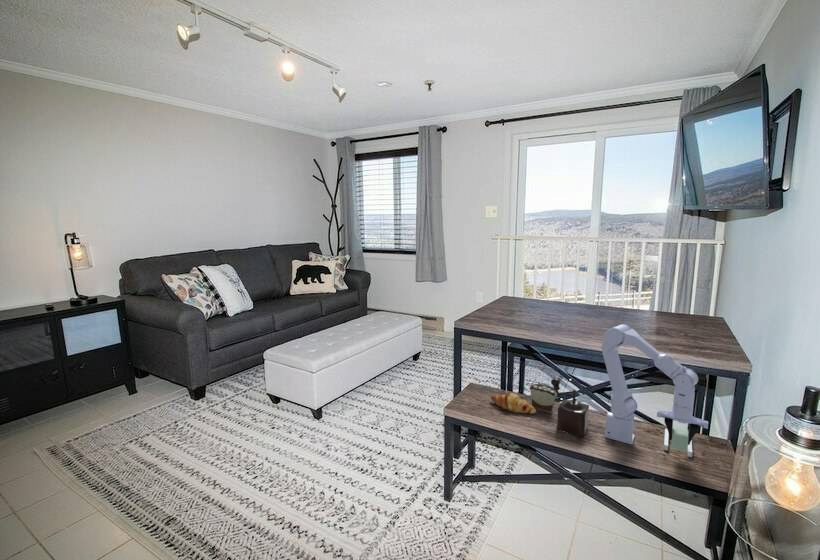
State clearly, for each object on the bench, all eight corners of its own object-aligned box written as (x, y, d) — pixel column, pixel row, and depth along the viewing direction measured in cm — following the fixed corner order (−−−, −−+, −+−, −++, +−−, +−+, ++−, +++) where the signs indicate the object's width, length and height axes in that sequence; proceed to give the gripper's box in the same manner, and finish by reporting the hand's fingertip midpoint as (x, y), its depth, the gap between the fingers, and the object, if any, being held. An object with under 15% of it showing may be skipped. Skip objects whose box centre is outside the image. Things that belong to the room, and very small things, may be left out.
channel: (663, 449, 142) (664, 444, 142) (664, 433, 154) (665, 428, 153) (691, 457, 138) (692, 452, 137) (690, 439, 149) (691, 434, 149)
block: (671, 447, 134) (672, 434, 133) (671, 438, 140) (672, 425, 139) (686, 452, 131) (688, 438, 131) (686, 442, 137) (687, 429, 136)
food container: (560, 409, 174) (561, 388, 172) (555, 414, 169) (556, 392, 168) (534, 401, 182) (535, 381, 181) (528, 405, 177) (529, 385, 176)
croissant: (537, 419, 172) (541, 401, 174) (531, 417, 164) (535, 398, 166) (492, 405, 184) (496, 389, 186) (485, 403, 176) (489, 386, 178)
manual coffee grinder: (588, 425, 160) (591, 384, 157) (583, 437, 151) (586, 393, 148) (550, 415, 168) (552, 376, 166) (543, 426, 159) (545, 384, 157)
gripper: (657, 403, 134) (654, 439, 136) (710, 414, 126) (705, 453, 128) (658, 396, 140) (655, 431, 142) (708, 406, 132) (704, 443, 134)
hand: (679, 441), depth 136 cm, fingers closed on block, 4 cm apart
